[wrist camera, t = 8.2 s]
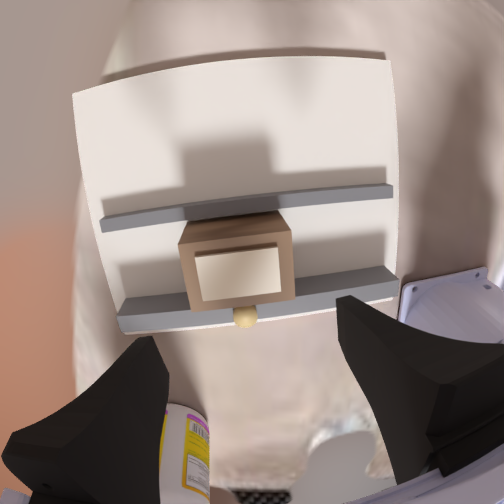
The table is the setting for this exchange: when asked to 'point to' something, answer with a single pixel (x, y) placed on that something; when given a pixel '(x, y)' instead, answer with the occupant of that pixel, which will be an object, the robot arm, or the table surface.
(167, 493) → the supplement bottle
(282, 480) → the table surface
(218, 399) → the table surface
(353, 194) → the wall board
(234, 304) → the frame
